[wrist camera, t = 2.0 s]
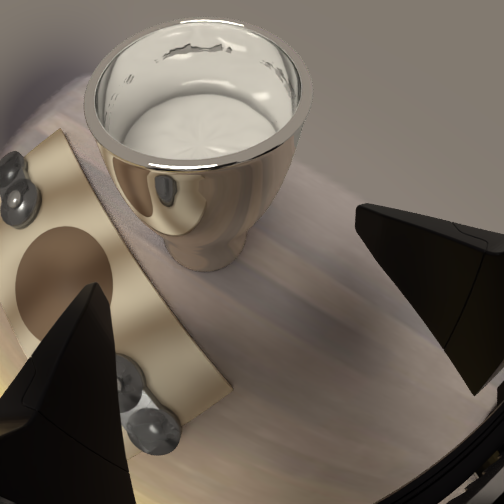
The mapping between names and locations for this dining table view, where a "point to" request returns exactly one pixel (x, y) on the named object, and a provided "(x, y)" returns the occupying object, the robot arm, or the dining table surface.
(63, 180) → the board
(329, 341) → the dining table surface
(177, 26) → the beer glass
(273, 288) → the dining table surface
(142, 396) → the set of metal discs
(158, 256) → the dining table surface
